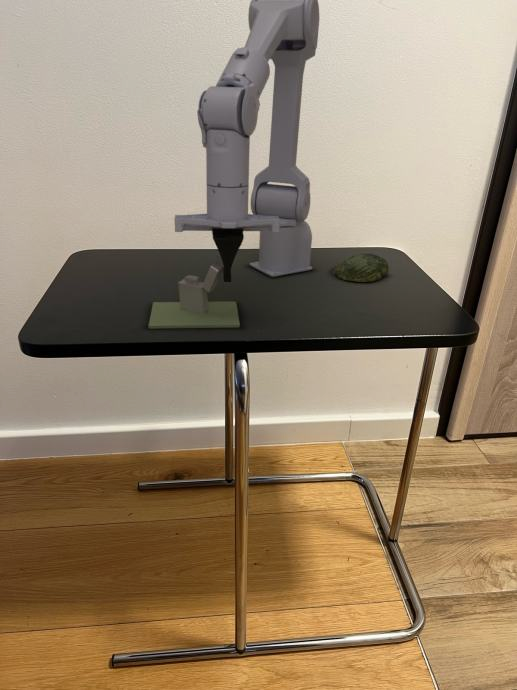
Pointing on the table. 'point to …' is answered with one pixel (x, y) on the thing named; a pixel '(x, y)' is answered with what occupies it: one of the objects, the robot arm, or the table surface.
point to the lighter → (198, 290)
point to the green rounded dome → (362, 268)
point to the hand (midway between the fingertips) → (226, 280)
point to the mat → (194, 316)
